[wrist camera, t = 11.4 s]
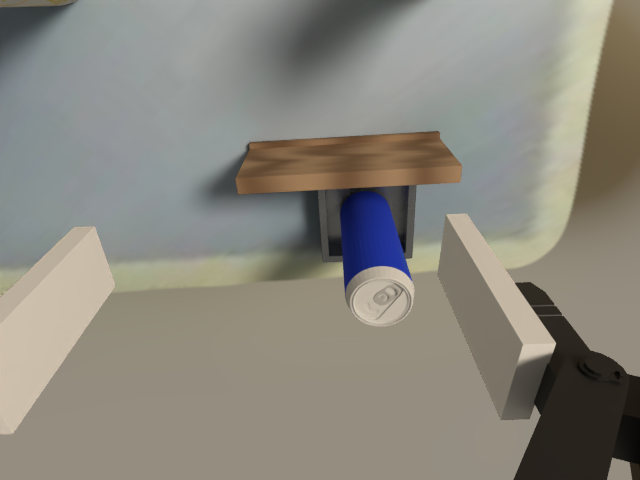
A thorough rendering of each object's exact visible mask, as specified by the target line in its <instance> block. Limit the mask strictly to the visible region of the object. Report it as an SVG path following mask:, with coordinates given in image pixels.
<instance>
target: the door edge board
mask: <svg viewBox="0 0 640 480" xmlns="http://www.w3.org/2000/svg"><path fill="white" fill-rule="evenodd" d="M249 147H250V150H249V152H248V154H247V156H246V158H245V160H244V162H243V164H242V166H241V168H240V170H239V172H238V174H237V176H236V178H235V179H236V185H237V190H238V194H252V193H271V192H290V191H309V190H327V189H346V188H365V187H383V186H402V185H421V184H440V183H458V182H460V180H461V171H462V165H461V164H460V163H459V161H458V160H457V159H456V158H455V156H454V155H453V154H452V153H451V152H450V150H449V149H448V148H447V147H446V145H445V144H444V143H443V142H442V141H441V139H440V132H439V131H433V132H416V133H399V134H382V135H365V136H348V137H330V138H313V139H296V140H279V141H262V142H250V143H249Z"/></svg>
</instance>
